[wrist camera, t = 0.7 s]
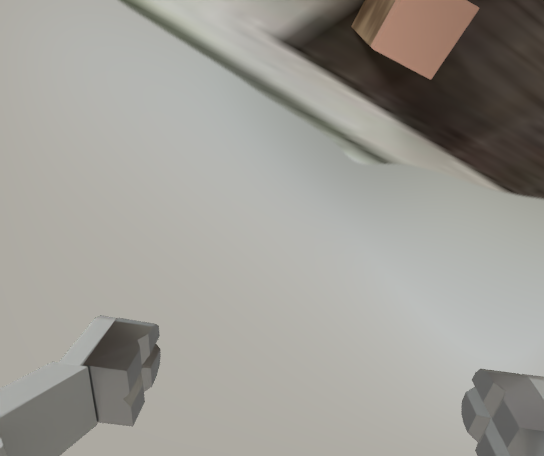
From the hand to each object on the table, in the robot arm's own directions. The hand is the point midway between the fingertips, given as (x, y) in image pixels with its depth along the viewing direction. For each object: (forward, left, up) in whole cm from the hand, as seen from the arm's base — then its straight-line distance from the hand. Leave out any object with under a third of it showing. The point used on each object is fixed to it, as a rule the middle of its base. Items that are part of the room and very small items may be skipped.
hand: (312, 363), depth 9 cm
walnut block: (-8, +8, -43) cm, 44 cm away
